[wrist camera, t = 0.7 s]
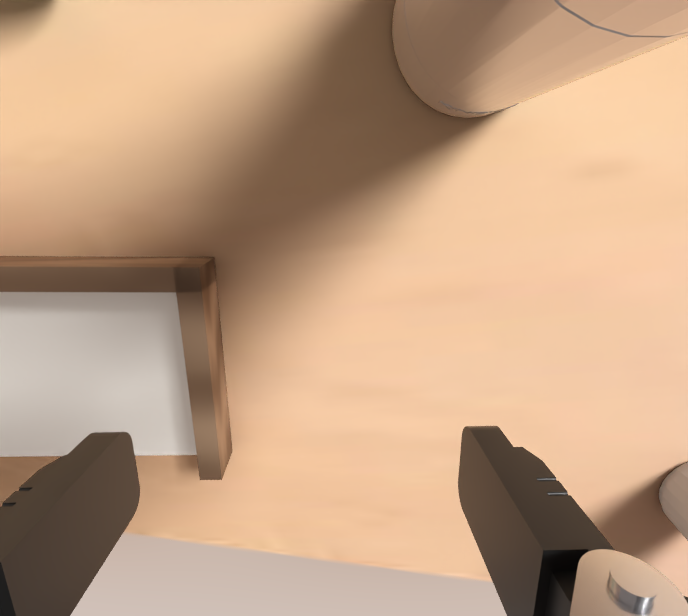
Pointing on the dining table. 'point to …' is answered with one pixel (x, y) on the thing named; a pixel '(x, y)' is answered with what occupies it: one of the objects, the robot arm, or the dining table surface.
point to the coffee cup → (676, 498)
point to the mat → (92, 372)
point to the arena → (194, 313)
